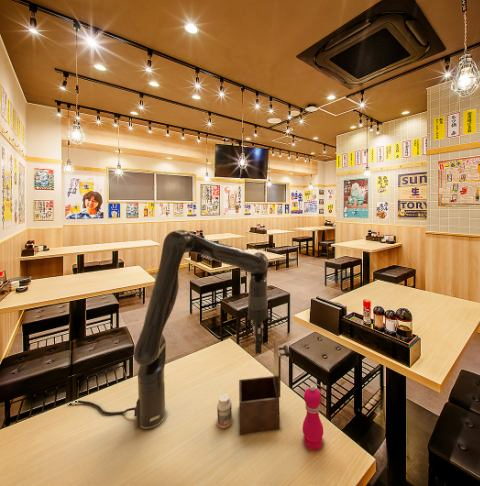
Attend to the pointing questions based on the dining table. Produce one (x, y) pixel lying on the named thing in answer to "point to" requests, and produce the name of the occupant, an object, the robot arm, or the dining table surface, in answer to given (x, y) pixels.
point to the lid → (278, 364)
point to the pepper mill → (312, 419)
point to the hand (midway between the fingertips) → (257, 346)
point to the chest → (258, 405)
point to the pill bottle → (224, 411)
